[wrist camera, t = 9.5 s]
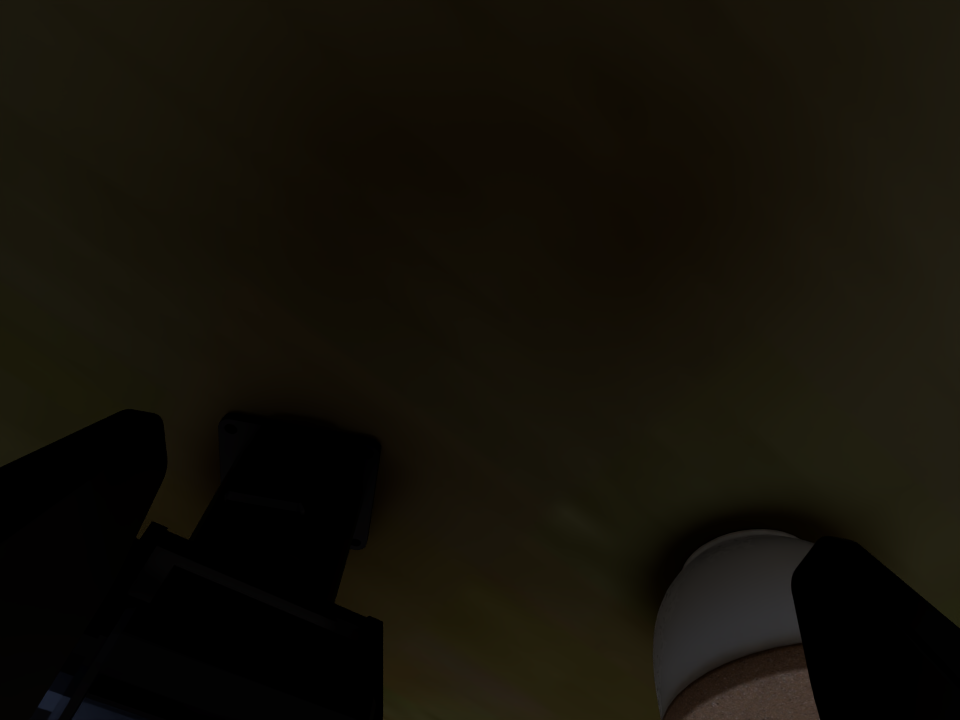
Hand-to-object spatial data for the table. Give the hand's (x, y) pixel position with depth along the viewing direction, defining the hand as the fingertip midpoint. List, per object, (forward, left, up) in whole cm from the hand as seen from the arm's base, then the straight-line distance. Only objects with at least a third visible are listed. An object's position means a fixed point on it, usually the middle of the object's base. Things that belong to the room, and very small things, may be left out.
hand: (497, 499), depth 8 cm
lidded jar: (-15, -15, -13) cm, 25 cm away
